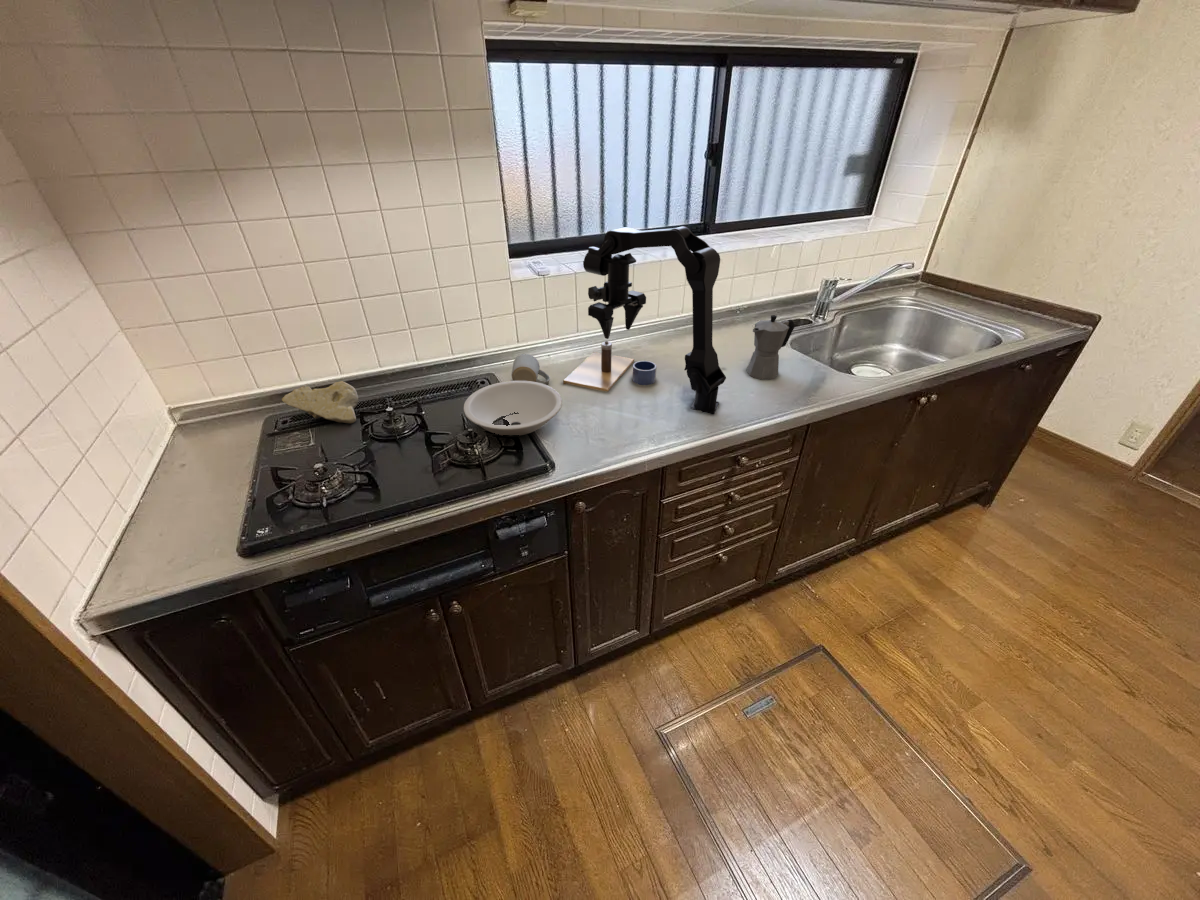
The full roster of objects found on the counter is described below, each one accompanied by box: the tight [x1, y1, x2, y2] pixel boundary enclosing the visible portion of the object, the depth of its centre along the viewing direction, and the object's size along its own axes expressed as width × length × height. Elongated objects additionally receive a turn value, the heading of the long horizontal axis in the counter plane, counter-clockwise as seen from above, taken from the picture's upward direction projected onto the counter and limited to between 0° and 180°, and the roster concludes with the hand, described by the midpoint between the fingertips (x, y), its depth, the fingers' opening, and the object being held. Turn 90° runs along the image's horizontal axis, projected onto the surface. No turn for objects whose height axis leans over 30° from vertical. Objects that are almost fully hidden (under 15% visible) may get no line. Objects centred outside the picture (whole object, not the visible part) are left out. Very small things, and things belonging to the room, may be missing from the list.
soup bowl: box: [463, 380, 563, 436], centre depth 125 cm, size 24×24×7 cm
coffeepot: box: [746, 314, 796, 381], centre depth 147 cm, size 15×9×18 cm, turn 116°
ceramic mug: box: [511, 353, 551, 386], centre depth 143 cm, size 11×8×8 cm
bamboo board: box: [562, 351, 635, 393], centre depth 151 cm, size 22×14×1 cm, turn 157°
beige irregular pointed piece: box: [281, 380, 359, 424], centre depth 128 cm, size 15×7×15 cm
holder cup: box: [631, 360, 658, 386], centre depth 145 cm, size 7×7×5 cm
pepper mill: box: [600, 340, 613, 373], centre depth 147 cm, size 3×3×9 cm
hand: (617, 333), depth 144 cm, fingers open, 9 cm apart
